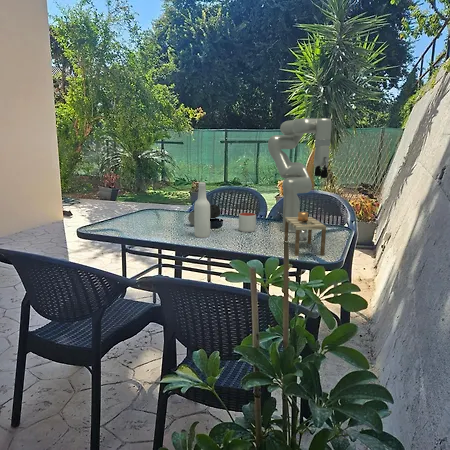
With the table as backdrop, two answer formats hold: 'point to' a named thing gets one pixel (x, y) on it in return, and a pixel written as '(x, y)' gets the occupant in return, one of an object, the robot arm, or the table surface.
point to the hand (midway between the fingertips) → (320, 177)
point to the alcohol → (202, 213)
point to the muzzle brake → (214, 213)
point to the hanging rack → (311, 225)
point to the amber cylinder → (303, 217)
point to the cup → (247, 222)
